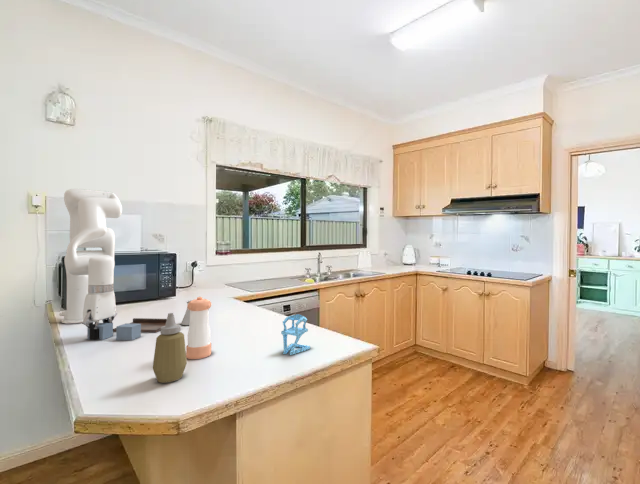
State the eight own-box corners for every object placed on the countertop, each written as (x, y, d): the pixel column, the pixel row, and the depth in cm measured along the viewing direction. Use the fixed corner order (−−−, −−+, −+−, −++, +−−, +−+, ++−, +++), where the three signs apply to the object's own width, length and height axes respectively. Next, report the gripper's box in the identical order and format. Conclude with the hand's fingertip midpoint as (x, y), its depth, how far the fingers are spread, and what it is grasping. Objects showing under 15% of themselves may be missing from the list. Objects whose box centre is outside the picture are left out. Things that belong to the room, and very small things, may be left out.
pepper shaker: (185, 360, 105) (186, 299, 106) (186, 353, 112) (187, 295, 112) (211, 357, 109) (212, 297, 109) (210, 350, 115) (211, 294, 115)
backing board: (112, 331, 136) (112, 325, 136) (134, 323, 148) (134, 318, 148) (155, 332, 135) (156, 326, 135) (174, 324, 147) (174, 318, 147)
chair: (277, 353, 113) (277, 317, 113) (292, 345, 121) (292, 312, 121) (296, 356, 110) (297, 319, 110) (310, 348, 118) (311, 314, 118)
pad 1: (87, 339, 125) (87, 326, 126) (97, 335, 130) (97, 322, 130) (102, 339, 125) (103, 326, 125) (112, 336, 130) (113, 323, 130)
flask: (203, 321, 152) (203, 299, 152) (193, 326, 145) (193, 302, 145) (188, 321, 153) (188, 299, 153) (177, 325, 146) (177, 302, 146)
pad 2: (116, 340, 125) (116, 326, 125) (125, 336, 130) (125, 323, 130) (131, 340, 125) (132, 326, 125) (140, 336, 130) (141, 323, 130)
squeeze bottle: (162, 373, 96) (163, 310, 96) (191, 372, 97) (192, 309, 97) (145, 385, 88) (146, 316, 88) (177, 384, 89) (178, 316, 89)
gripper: (109, 285, 136) (108, 330, 136) (70, 292, 119) (69, 344, 119) (127, 286, 136) (127, 331, 136) (91, 293, 119) (90, 344, 119)
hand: (100, 336), depth 128 cm, fingers closed on pad 1, 4 cm apart
